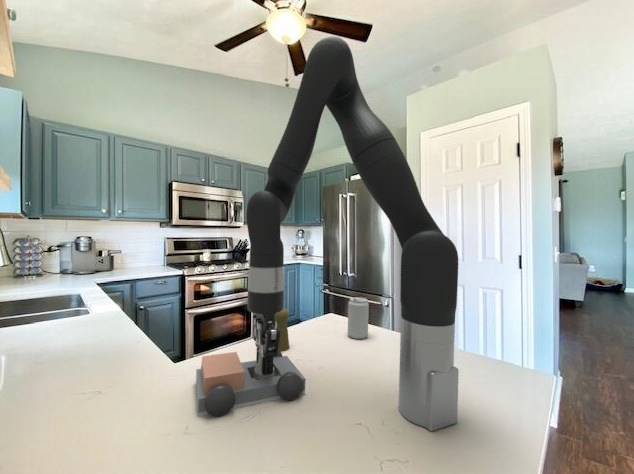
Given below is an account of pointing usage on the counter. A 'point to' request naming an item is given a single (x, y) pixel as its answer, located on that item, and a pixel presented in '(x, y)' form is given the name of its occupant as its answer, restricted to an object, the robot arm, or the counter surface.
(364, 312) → the beverage can
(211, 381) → the toy truck
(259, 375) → the rook chess piece
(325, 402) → the counter surface
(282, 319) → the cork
